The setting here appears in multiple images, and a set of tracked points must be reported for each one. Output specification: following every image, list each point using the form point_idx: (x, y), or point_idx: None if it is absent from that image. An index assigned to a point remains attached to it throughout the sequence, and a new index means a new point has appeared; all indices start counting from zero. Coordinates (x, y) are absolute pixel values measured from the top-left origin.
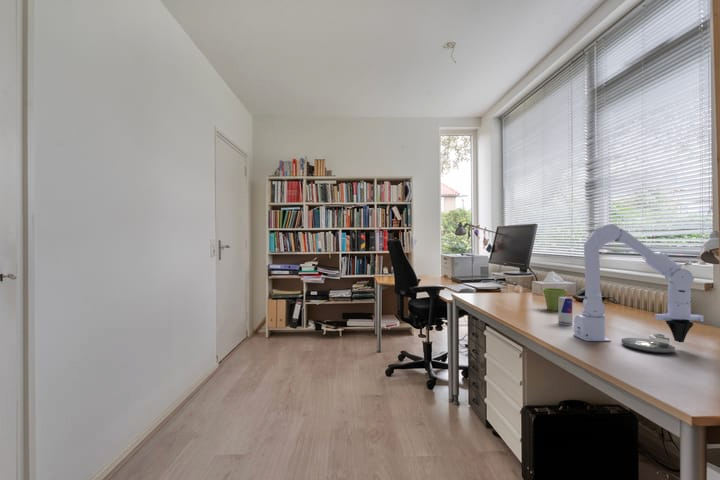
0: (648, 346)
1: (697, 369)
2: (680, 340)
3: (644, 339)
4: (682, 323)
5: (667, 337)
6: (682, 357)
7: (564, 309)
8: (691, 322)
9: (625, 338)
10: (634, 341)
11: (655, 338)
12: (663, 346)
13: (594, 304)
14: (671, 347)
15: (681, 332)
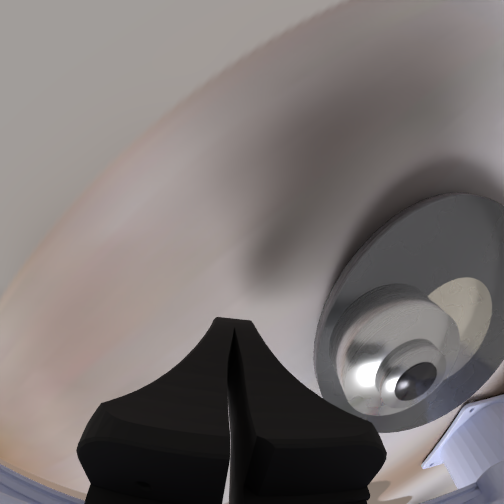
0: (493, 282)
1: (484, 7)
2: (253, 324)
3: (364, 415)
4: (321, 453)
5: (353, 362)
6: (412, 138)
7: None
8: (95, 460)
9: (439, 414)
10: (460, 371)
11: (458, 337)
12: (420, 279)
13: None
14: (392, 254)
15: (263, 369)
